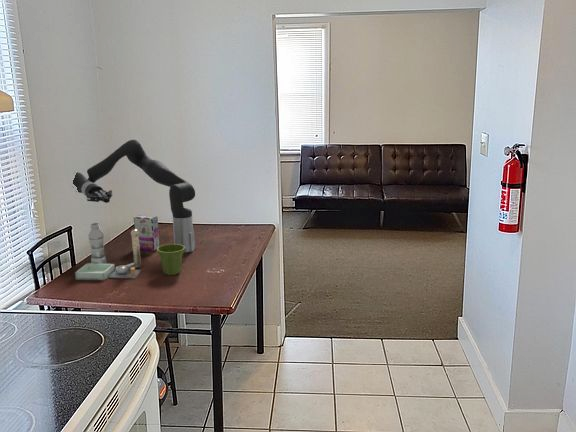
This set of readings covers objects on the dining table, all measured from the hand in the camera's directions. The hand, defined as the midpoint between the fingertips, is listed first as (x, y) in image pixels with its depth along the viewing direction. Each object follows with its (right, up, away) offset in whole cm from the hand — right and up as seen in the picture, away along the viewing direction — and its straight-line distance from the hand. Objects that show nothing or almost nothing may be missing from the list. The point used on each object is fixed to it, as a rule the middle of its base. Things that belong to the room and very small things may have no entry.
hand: (107, 200), depth 251 cm
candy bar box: (+14, -23, +20) cm, 33 cm away
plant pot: (+33, -32, -14) cm, 48 cm away
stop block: (+17, -33, -17) cm, 41 cm away
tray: (0, -33, -16) cm, 36 cm away
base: (+13, -32, -16) cm, 38 cm away
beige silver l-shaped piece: (+14, -30, -13) cm, 36 cm away
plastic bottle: (-2, -30, -6) cm, 31 cm away
